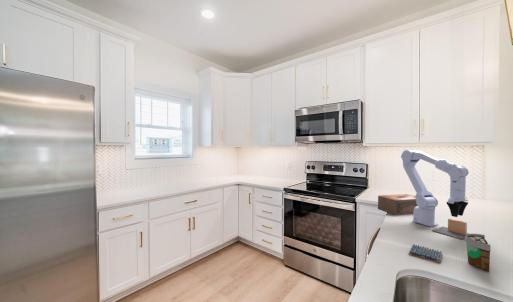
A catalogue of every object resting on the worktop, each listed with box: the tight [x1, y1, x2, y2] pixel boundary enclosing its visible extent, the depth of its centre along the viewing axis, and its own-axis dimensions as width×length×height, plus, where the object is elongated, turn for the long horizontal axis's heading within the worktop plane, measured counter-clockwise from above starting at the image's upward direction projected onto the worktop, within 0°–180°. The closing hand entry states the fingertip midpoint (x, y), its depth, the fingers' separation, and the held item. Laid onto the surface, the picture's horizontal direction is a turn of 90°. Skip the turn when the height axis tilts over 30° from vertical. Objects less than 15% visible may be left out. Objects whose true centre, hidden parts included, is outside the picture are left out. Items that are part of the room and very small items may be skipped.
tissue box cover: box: [377, 193, 419, 216], centre depth 152 cm, size 26×14×10 cm, turn 105°
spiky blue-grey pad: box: [407, 243, 443, 264], centre depth 89 cm, size 10×11×2 cm
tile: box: [447, 218, 468, 235], centre depth 112 cm, size 7×2×6 cm, turn 26°
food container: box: [463, 233, 492, 273], centre depth 82 cm, size 12×6×10 cm, turn 141°
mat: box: [431, 226, 470, 241], centre depth 112 cm, size 12×12×1 cm
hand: (457, 215), depth 112 cm, fingers open, 5 cm apart
